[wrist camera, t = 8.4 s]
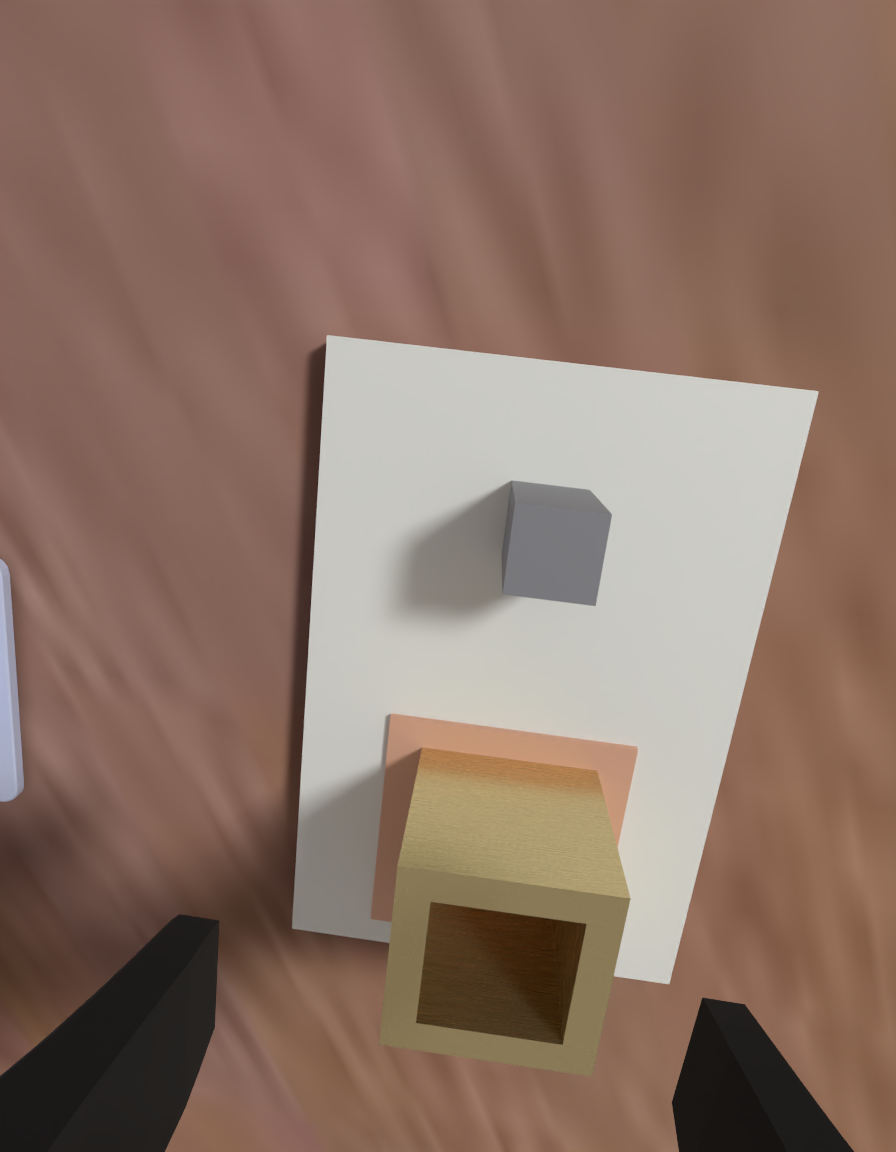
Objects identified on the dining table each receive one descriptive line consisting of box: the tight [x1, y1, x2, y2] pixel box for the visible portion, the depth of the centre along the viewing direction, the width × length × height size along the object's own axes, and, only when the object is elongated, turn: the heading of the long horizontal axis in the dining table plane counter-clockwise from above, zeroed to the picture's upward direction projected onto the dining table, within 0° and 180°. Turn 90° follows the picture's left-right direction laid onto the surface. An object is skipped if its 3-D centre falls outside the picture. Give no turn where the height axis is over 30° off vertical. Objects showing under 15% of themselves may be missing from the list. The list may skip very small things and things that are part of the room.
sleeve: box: [379, 747, 631, 1076], centre depth 18 cm, size 5×5×5 cm
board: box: [292, 335, 819, 984], centre depth 18 cm, size 12×18×4 cm, turn 174°
